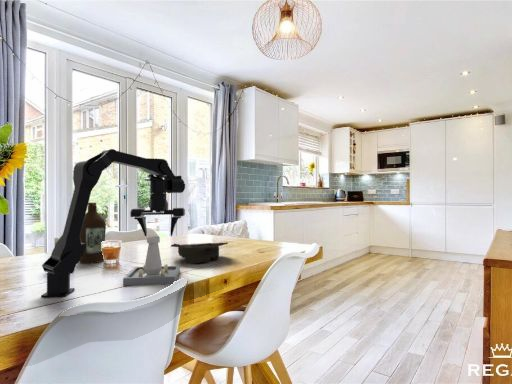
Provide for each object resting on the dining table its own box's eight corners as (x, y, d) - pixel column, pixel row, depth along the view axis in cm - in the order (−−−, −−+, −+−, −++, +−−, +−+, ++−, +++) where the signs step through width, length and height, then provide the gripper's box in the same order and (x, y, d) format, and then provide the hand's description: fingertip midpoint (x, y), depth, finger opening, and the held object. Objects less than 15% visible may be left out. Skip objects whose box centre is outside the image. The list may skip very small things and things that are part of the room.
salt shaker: (141, 273, 112) (141, 235, 112) (156, 271, 116) (156, 234, 116) (149, 276, 108) (149, 237, 108) (165, 273, 112) (165, 236, 112)
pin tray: (174, 283, 105) (174, 272, 105) (123, 285, 103) (123, 273, 103) (179, 271, 121) (179, 261, 121) (135, 272, 119) (135, 262, 119)
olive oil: (74, 261, 139) (74, 202, 139) (100, 257, 146) (100, 202, 147) (82, 265, 131) (82, 203, 132) (109, 261, 139) (109, 202, 139)
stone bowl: (198, 268, 126) (197, 244, 126) (158, 264, 141) (157, 243, 141) (239, 257, 146) (238, 236, 146) (201, 255, 161) (199, 236, 161)
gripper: (186, 193, 129) (186, 232, 129) (137, 193, 127) (137, 233, 127) (183, 193, 118) (183, 236, 118) (129, 193, 116) (130, 237, 116)
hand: (158, 235), depth 120 cm, fingers open, 9 cm apart
